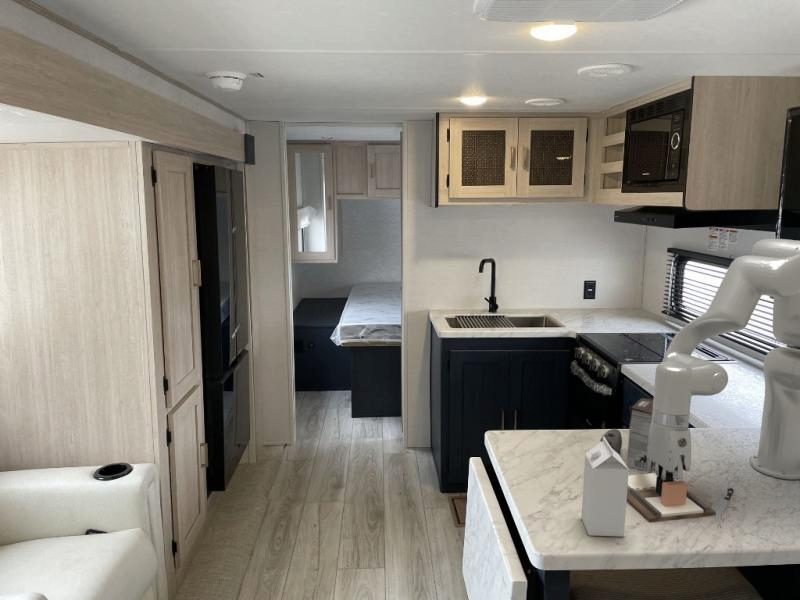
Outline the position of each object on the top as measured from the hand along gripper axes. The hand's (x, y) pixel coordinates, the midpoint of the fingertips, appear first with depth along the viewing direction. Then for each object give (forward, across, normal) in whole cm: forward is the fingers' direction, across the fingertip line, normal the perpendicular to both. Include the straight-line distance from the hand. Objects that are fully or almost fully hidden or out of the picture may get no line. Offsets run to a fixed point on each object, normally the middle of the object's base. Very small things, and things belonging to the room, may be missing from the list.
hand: (663, 493), depth 139 cm
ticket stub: (+1, -3, 0) cm, 4 cm away
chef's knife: (+3, -3, -12) cm, 13 cm away
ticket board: (+2, +2, 0) cm, 3 cm away
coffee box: (+2, +19, -7) cm, 20 cm away
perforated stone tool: (+2, +25, -1) cm, 25 cm away
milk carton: (+2, -7, +19) cm, 20 cm away
